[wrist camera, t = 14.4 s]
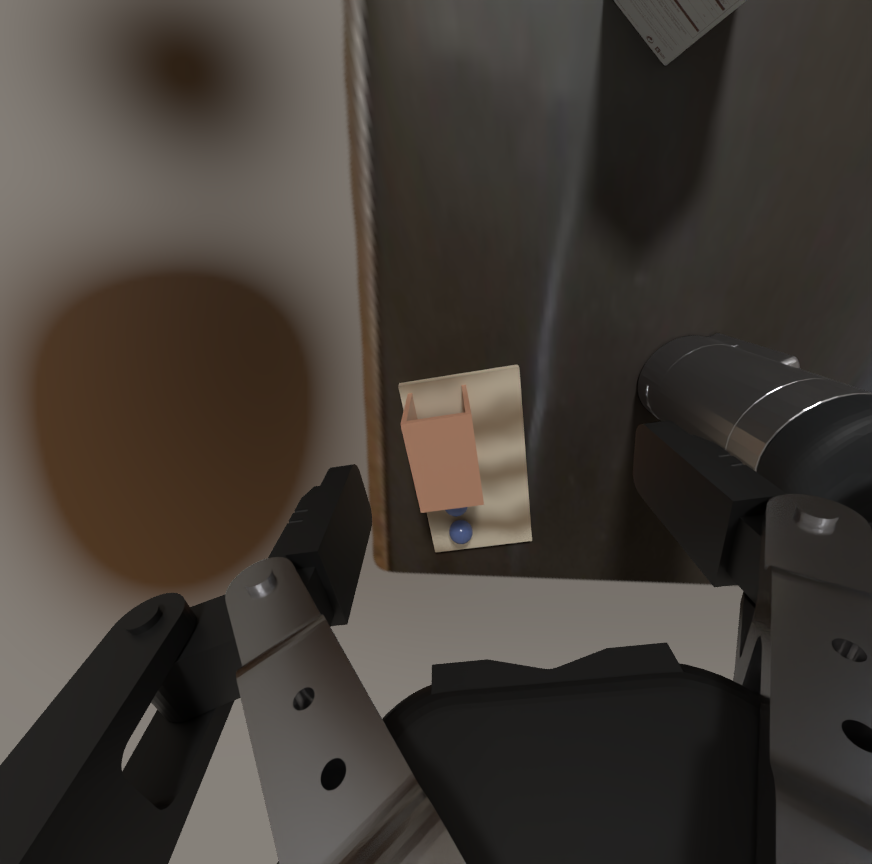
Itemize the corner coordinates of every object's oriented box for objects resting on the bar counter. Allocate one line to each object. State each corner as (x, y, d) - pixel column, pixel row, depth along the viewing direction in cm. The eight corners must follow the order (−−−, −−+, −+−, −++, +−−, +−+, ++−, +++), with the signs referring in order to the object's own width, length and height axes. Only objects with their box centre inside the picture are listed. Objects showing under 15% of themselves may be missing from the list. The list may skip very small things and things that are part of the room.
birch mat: (399, 383, 41) (398, 386, 40) (517, 364, 40) (519, 367, 39) (435, 547, 52) (435, 552, 51) (530, 535, 51) (531, 540, 50)
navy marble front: (460, 482, 46) (461, 497, 43) (471, 500, 47) (473, 515, 44) (438, 492, 46) (438, 507, 44) (450, 509, 48) (451, 525, 45)
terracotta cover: (407, 393, 41) (400, 424, 34) (465, 384, 40) (471, 413, 33) (424, 470, 45) (421, 512, 38) (477, 463, 45) (484, 504, 37)
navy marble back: (465, 511, 48) (466, 527, 45) (475, 527, 49) (477, 543, 46) (444, 520, 48) (444, 536, 46) (455, 536, 49) (456, 552, 47)
